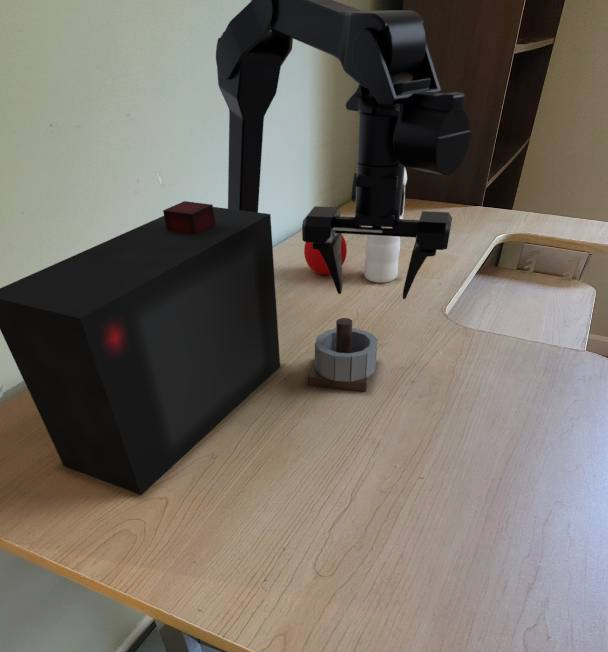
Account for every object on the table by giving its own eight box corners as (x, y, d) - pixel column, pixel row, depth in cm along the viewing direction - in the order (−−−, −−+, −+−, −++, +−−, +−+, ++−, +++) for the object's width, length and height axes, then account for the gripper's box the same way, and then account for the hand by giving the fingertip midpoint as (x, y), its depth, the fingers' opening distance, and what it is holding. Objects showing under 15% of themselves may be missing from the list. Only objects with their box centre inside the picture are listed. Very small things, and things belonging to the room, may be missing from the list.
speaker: (51, 461, 69) (-42, 269, 51) (203, 348, 90) (174, 184, 72) (141, 495, 64) (72, 294, 46) (280, 366, 84) (269, 194, 67)
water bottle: (359, 281, 108) (366, 131, 90) (369, 269, 112) (378, 124, 94) (392, 285, 106) (406, 132, 88) (401, 273, 110) (416, 125, 92)
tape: (311, 379, 78) (310, 354, 76) (320, 350, 85) (320, 326, 82) (373, 383, 77) (375, 358, 74) (377, 353, 83) (379, 329, 81)
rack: (308, 385, 80) (307, 332, 74) (321, 357, 86) (321, 306, 80) (365, 391, 78) (369, 337, 72) (375, 363, 84) (379, 310, 78)
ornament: (322, 263, 116) (322, 212, 109) (354, 272, 112) (356, 219, 104) (296, 275, 111) (294, 222, 104) (328, 285, 107) (328, 231, 100)
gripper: (463, 148, 65) (442, 278, 77) (320, 145, 69) (320, 270, 80) (459, 170, 58) (436, 309, 69) (299, 165, 61) (302, 299, 73)
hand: (371, 295), depth 73 cm, fingers open, 9 cm apart
